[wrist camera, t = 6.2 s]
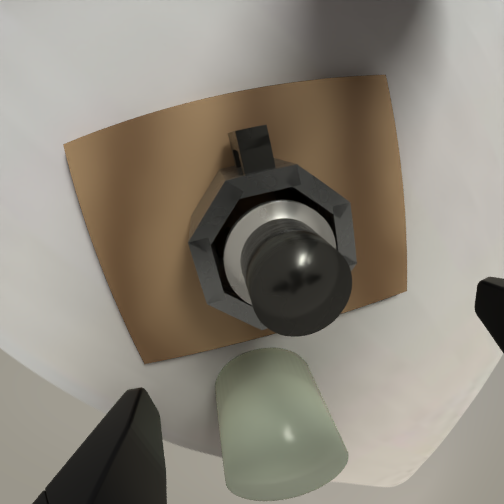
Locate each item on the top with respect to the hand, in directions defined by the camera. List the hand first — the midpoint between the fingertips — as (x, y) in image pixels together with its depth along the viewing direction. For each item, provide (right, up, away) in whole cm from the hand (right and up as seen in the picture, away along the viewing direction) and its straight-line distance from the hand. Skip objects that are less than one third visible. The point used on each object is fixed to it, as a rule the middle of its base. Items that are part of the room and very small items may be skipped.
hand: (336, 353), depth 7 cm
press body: (-2, +4, +10) cm, 11 cm away
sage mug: (-1, -7, +15) cm, 17 cm away
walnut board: (-2, +4, +11) cm, 12 cm away
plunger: (-1, +3, +9) cm, 10 cm away
